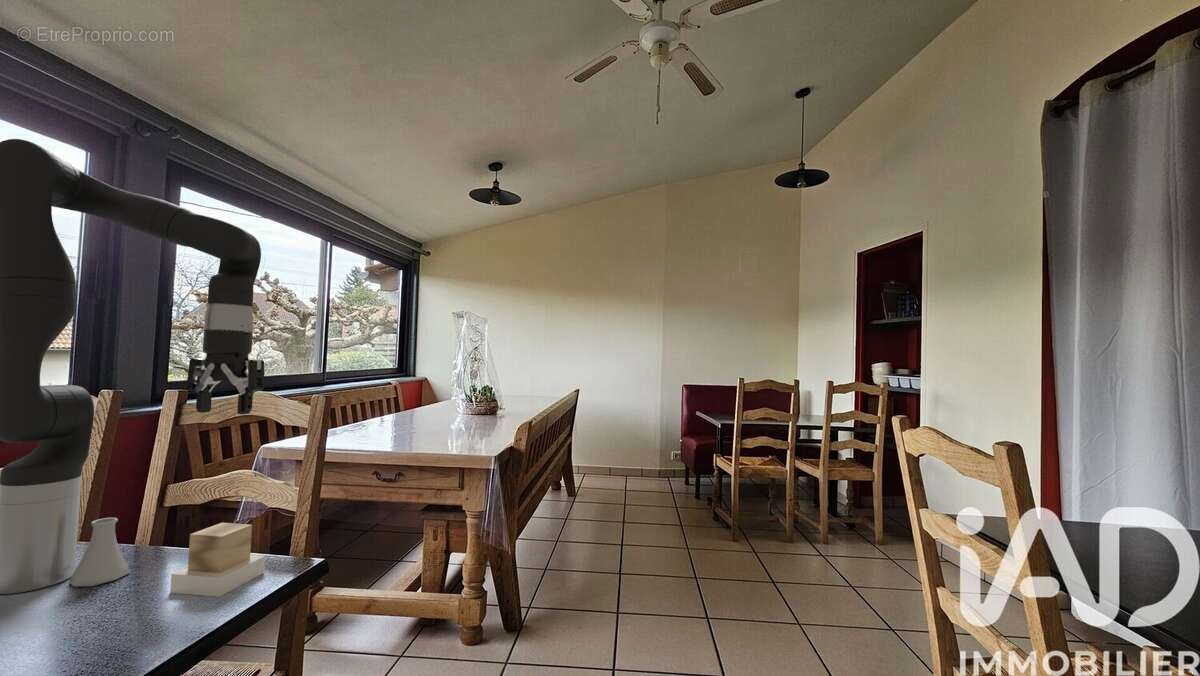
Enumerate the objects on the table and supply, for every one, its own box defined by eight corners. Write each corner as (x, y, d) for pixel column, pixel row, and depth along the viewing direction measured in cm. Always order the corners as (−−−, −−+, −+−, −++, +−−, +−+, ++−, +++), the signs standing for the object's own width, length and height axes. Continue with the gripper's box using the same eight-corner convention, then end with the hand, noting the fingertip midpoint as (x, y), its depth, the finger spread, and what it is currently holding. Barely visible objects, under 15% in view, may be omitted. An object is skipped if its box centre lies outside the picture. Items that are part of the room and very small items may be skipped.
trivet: (170, 592, 79) (171, 573, 79) (219, 569, 88) (220, 552, 88) (219, 596, 78) (220, 577, 78) (264, 573, 87) (265, 556, 87)
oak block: (187, 570, 81) (190, 534, 81) (219, 556, 87) (221, 522, 87) (220, 573, 80) (222, 536, 80) (250, 558, 86) (252, 524, 86)
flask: (90, 590, 79) (94, 528, 80) (57, 585, 81) (62, 525, 82) (140, 572, 87) (144, 515, 87) (109, 568, 88) (113, 512, 89)
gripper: (177, 327, 91) (171, 413, 90) (245, 328, 89) (240, 416, 88) (213, 329, 98) (208, 410, 97) (277, 330, 96) (273, 412, 95)
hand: (223, 413), depth 93 cm, fingers open, 8 cm apart
